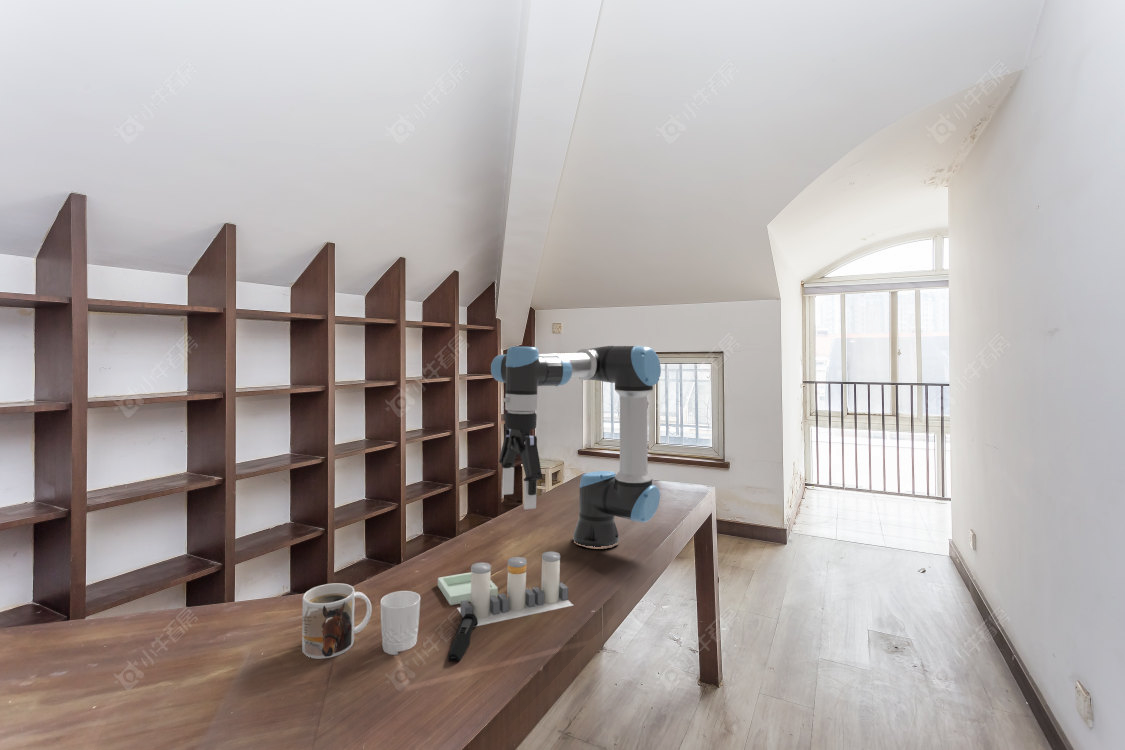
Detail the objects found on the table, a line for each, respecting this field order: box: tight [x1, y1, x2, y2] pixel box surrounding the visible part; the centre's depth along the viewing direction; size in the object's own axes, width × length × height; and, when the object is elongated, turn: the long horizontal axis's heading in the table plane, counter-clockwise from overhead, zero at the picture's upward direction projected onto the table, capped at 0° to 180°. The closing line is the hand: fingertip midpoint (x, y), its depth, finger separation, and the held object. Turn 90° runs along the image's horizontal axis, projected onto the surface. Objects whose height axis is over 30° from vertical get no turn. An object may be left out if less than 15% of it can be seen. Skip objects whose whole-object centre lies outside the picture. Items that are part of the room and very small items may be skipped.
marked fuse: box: [506, 556, 527, 611], centre depth 128 cm, size 4×4×11 cm
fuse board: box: [456, 581, 574, 628], centre depth 128 cm, size 26×10×4 cm, turn 117°
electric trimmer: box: [447, 614, 478, 662], centre depth 112 cm, size 4×16×3 cm, turn 177°
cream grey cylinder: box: [540, 551, 561, 604], centre depth 132 cm, size 4×4×11 cm
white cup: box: [379, 590, 421, 656], centre depth 111 cm, size 8×8×10 cm
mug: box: [301, 582, 372, 660], centre depth 111 cm, size 10×12×11 cm
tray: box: [437, 571, 499, 606], centre depth 136 cm, size 12×12×3 cm
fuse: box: [470, 562, 492, 619], centre depth 124 cm, size 4×4×11 cm
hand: (518, 501), depth 127 cm, fingers open, 13 cm apart
